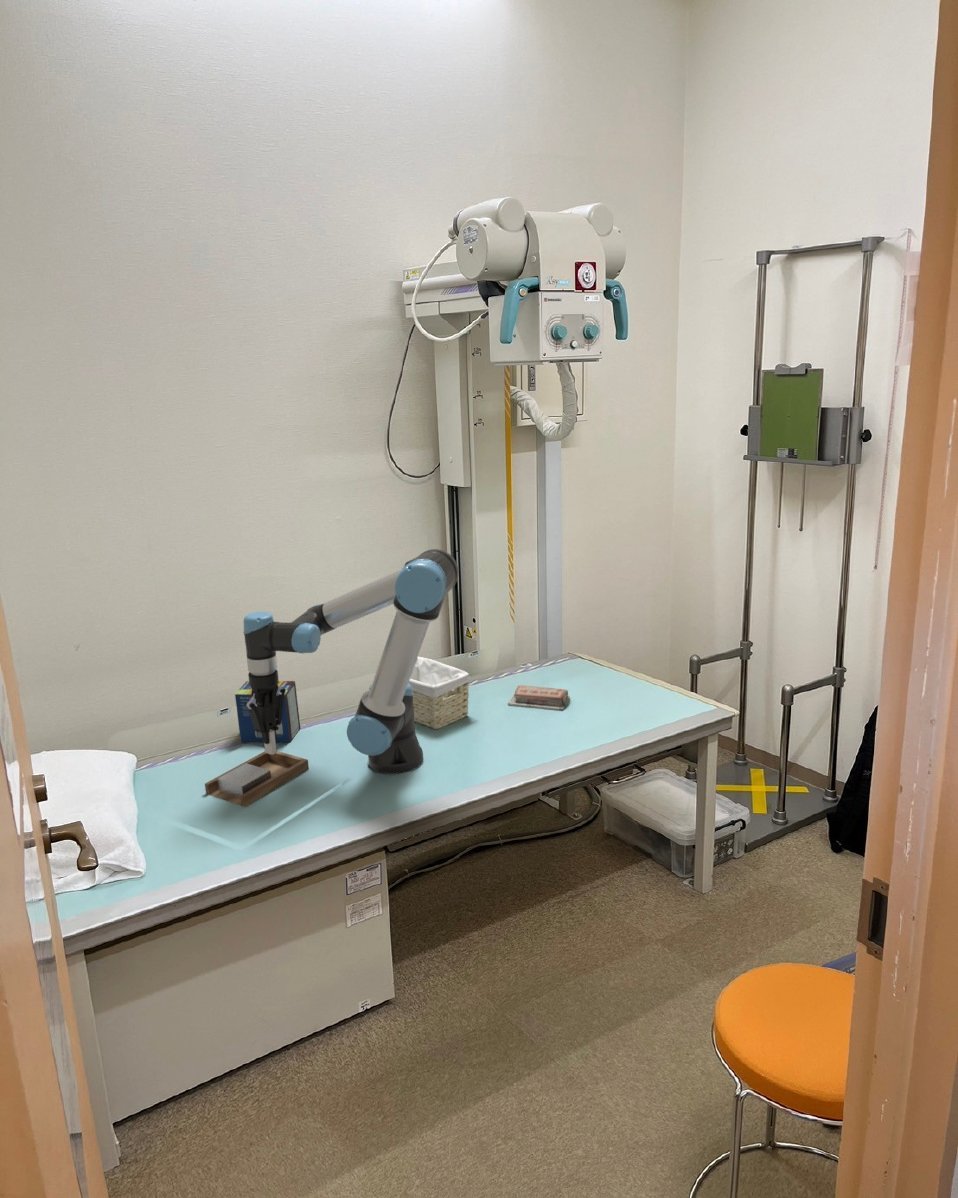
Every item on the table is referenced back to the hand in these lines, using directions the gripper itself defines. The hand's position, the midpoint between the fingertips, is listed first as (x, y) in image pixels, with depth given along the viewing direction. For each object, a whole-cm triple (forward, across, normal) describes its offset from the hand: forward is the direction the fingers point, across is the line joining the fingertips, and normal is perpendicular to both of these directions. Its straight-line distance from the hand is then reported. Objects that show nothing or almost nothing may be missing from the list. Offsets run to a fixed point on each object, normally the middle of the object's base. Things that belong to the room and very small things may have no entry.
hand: (270, 752), depth 246 cm
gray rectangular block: (+6, +10, 0) cm, 12 cm away
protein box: (+7, -19, -20) cm, 28 cm away
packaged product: (+7, -77, +40) cm, 87 cm away
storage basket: (+7, -53, +14) cm, 55 cm away
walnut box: (+7, +6, 0) cm, 9 cm away
